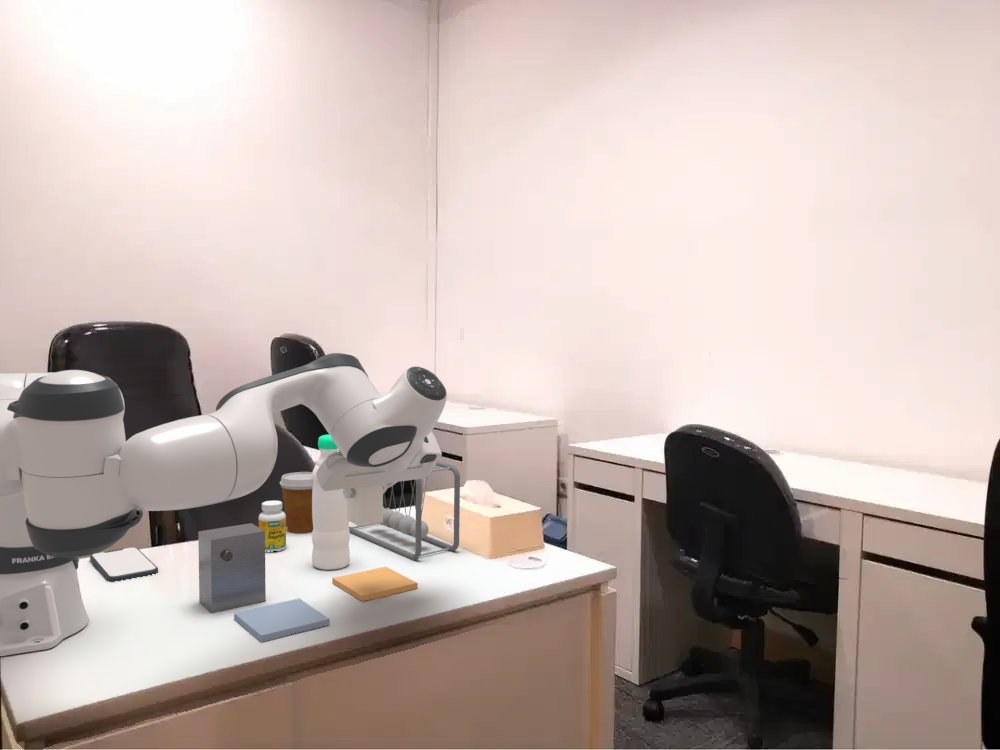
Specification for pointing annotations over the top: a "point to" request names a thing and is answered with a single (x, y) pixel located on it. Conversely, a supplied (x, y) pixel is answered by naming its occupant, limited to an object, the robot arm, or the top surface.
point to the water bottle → (329, 519)
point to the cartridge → (366, 505)
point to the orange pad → (374, 583)
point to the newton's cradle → (417, 519)
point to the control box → (231, 567)
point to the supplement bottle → (273, 525)
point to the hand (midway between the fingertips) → (363, 492)
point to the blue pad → (280, 619)
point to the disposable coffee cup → (298, 501)
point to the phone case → (123, 564)
